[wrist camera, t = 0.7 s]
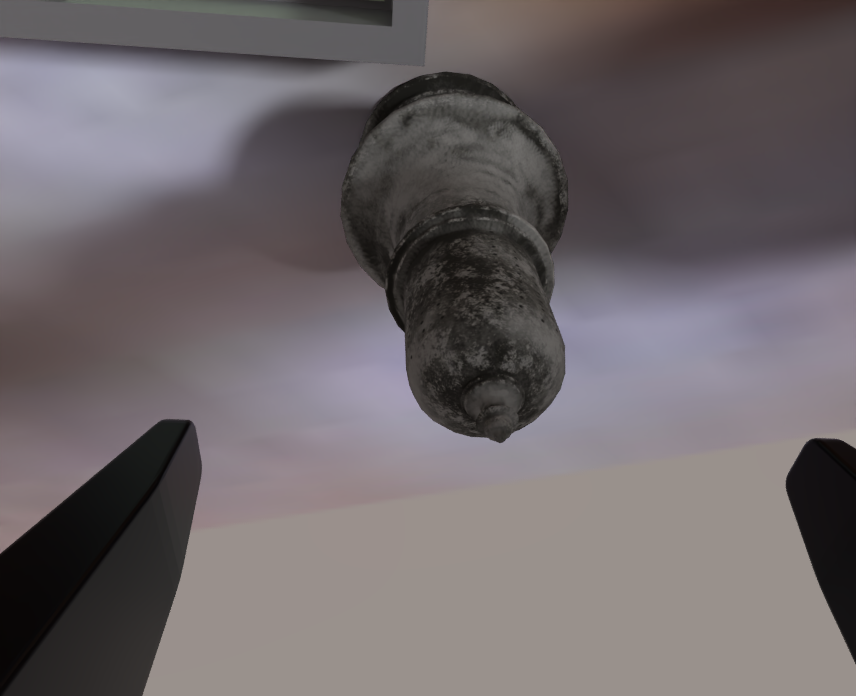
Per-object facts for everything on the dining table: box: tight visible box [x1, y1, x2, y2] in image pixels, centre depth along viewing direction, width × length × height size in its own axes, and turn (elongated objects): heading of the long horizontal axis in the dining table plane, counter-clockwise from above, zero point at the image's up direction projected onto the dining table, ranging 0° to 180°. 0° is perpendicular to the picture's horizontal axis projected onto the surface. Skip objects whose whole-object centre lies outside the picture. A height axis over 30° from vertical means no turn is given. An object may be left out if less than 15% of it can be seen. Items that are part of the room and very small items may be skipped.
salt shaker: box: [341, 72, 568, 443], centre depth 15 cm, size 6×6×12 cm
